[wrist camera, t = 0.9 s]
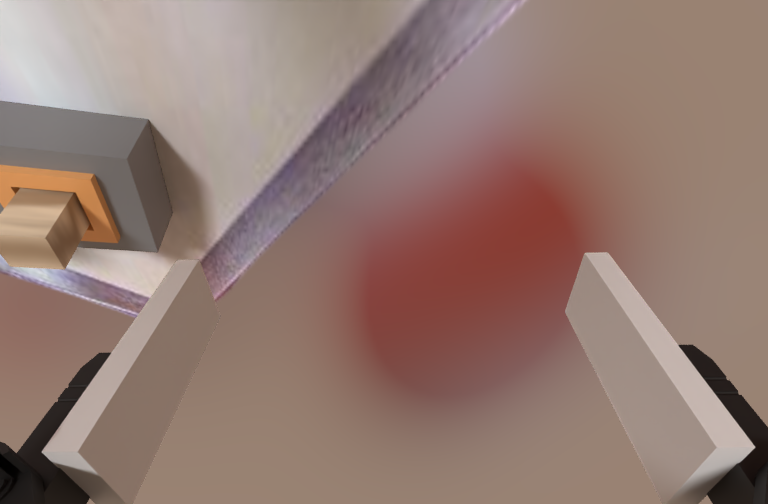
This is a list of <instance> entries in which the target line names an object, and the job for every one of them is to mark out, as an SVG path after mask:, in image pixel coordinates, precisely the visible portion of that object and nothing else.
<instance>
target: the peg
mask: <svg viewBox="0 0 768 504" xmlns="http://www.w3.org/2000/svg"><path fill="white" fill-rule="evenodd" d="M89 225H90V221H89V219H88V217H87V215H86V213H85V211H84V209H83V207H82V205H81V202H80V200H79V198H78V196H77V194H76V192H65V191H53V190H42V189H31V188H20V189H19V190H18V192H17V193H16V194H15V196H14V197H13V198H12V199H11V201H10V202H9V203H8V205H7V206H6V207H5V208H4V210H3V211H2V212H1V214H0V254H1V255H2V257H3V258H4V259H5V260H6V262H7V263H8V264H9V266H11V267H29V268H48V269H65V268H66V266H67V265H68V263H69V261H70V259H71V257H72V256H73V254H74V252H75V250H76V248H77V247H78V245H79V243H80V241H81V239H82V238H83V236H84V234H85V232H86V230H87V228H88V227H89Z"/></svg>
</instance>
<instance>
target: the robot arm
mask: <svg viewBox="0 0 768 504" xmlns="http://www.w3.org/2000/svg"><path fill="white" fill-rule="evenodd" d="M565 313H566V315H567V317H568V319H569V320H570V323H571V325H572V327H573V328H574V331H575V332H576V335H577V337H578V338H579V340H580V342H581V344H582V346H583V348H584V350H585V352H586V354H587V356H588V358H589V360H590V362H591V364H592V366H593V368H594V370H595V372H596V374H597V376H598V378H599V380H600V382H601V384H602V385H603V387H604V390H605V392H606V394H607V395H608V398H609V400H610V401H611V403H612V405H613V407H614V409H615V411H616V413H617V415H618V417H619V419H620V421H621V423H622V425H623V427H624V429H625V431H626V433H627V435H628V437H629V439H630V441H631V443H632V445H633V447H634V449H635V451H636V453H637V455H638V456H639V459H640V461H641V462H642V464H643V467H644V468H645V470H646V472H647V474H648V476H649V478H650V480H651V482H652V484H653V486H654V488H655V490H656V492H657V494H658V496H659V498H660V500H661V502H662V504H698V503H699V502H700V501H701V500H702V499H703V498H704V497H706V495H708V497H709V498H710V500H711V501H712V503H713V504H768V427H767V426H766V425H765V423H764V422H763V421H762V420H761V419H760V417H759V416H758V415H757V414H756V412H755V411H754V410H753V409H752V408H751V406H750V405H749V404H748V403H747V402H746V401H745V399H744V398H743V397H742V395H739V394H738V390H737V389H736V388H735V387H734V385H733V384H732V383H731V382H730V381H728V380H727V379H726V376H725V375H724V373H723V372H722V371H721V370H720V368H719V367H718V366H717V365H716V363H715V362H714V361H713V360H712V359H711V358H709V357H708V356H707V355H705V354H704V353H703V352H702V351H700V350H699V349H698V348H696V347H695V346H693V345H678V344H676V342H675V341H674V339H673V338H672V337H671V335H670V334H669V333H668V331H667V330H666V329H665V327H664V326H663V325H662V323H661V322H660V321H659V320H658V318H657V317H656V315H655V314H654V313H653V312H652V310H651V309H650V308H649V306H648V305H647V304H646V302H645V301H644V300H643V298H642V297H641V296H640V294H639V293H638V292H637V291H636V289H635V288H634V287H633V285H632V284H631V283H630V281H629V280H628V279H627V277H626V276H625V275H624V273H623V272H622V271H621V270H620V268H619V267H618V265H617V264H616V263H615V261H614V260H613V259H612V257H611V256H610V255H609V254H608V253H585V254H584V257H583V260H582V263H581V266H580V269H579V272H578V275H577V277H576V281H575V283H574V286H573V290H572V292H571V295H570V298H569V301H568V304H567V307H566V310H565ZM219 319H220V314H219V311H218V308H217V305H216V303H215V300H214V297H213V295H212V292H211V289H210V287H209V284H208V282H207V279H206V276H205V274H204V271H203V268H202V266H201V263H200V260H199V259H197V260H177V261H176V262H175V264H174V265H173V266H172V268H171V269H170V271H169V272H168V273H167V275H166V276H165V278H164V279H163V281H162V282H161V283H160V285H159V286H158V288H157V289H156V291H155V292H154V293H153V295H152V296H151V298H150V299H149V300H148V302H147V303H146V305H145V306H144V308H143V309H142V310H141V312H140V313H139V315H138V316H137V317H136V319H135V320H134V322H133V323H132V325H131V326H130V327H129V329H128V330H127V332H126V333H125V335H124V336H123V338H122V339H121V340H120V342H119V343H118V345H117V346H116V347H115V349H114V350H113V352H112V353H99V354H97V355H96V356H95V357H94V358H93V359H91V360H90V361H89V362H88V363H86V364H85V365H84V366H83V367H82V368H81V369H80V370H79V372H78V373H77V374H76V375H75V377H74V378H73V379H72V381H71V382H70V383H69V387H68V388H66V389H65V390H64V391H63V393H62V394H61V395H60V397H59V398H58V402H55V403H54V405H53V406H52V407H51V409H50V410H49V411H48V413H47V414H46V415H45V416H44V418H43V419H42V421H41V422H40V423H39V424H38V426H37V427H36V429H35V430H34V431H33V433H32V434H31V435H30V436H29V438H28V439H27V440H26V442H25V443H24V444H23V446H22V447H21V449H20V450H19V451H18V452H17V454H16V453H15V452H14V451H13V450H12V449H11V448H10V447H9V446H7V445H6V444H5V443H2V442H0V504H86V503H87V502H88V500H89V498H90V499H91V500H92V501H93V502H94V503H95V504H133V502H134V500H135V498H136V496H137V493H138V491H139V489H140V487H141V485H142V483H143V481H144V479H145V477H146V474H147V472H148V470H149V468H150V466H151V464H152V462H153V459H154V457H155V455H156V453H157V451H158V449H159V447H160V444H161V442H162V440H163V438H164V436H165V434H166V432H167V430H168V427H169V425H170V423H171V421H172V419H173V417H174V415H175V413H176V411H177V408H178V406H179V404H180V402H181V400H182V398H183V395H184V394H185V391H186V389H187V387H188V385H189V383H190V381H191V379H192V376H193V374H194V372H195V370H196V368H197V366H198V364H199V362H200V360H201V357H202V355H203V353H204V351H205V349H206V347H207V345H208V342H209V340H210V338H211V336H212V334H213V332H214V330H215V328H216V325H217V323H218V321H219Z"/></svg>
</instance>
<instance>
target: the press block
mask: <svg viewBox="0 0 768 504" xmlns="http://www.w3.org/2000/svg"><path fill="white" fill-rule="evenodd" d="M20 188H31V189H42V190H53V191H65V192H76V194H77V196H78V198H79V200H80V202H81V205H82V207H83V209H84V211H85V213H86V215H87V217H88V219H89V221H90V225H89V227H88V228H87V230H86V232H85V234H84V236H83V238H82V239H81V241H80V243H79V245H78V247H82V248H98V249H113V250H129V251H145V252H158V250H159V248H160V245H161V242H162V240H163V237H164V234H165V232H166V229H167V226H168V224H169V221H170V218H171V216H172V213H173V212H172V208H171V205H170V201H169V197H168V193H167V189H166V185H165V182H164V178H163V174H162V170H161V166H160V162H159V159H158V155H157V151H156V147H155V143H154V139H153V136H152V132H151V128H150V124H149V120H147V119H139V118H131V117H123V116H115V115H107V114H99V113H91V112H84V111H76V110H68V109H60V108H52V107H44V106H36V105H28V104H20V103H12V102H5V101H0V214H1V212H2V211H3V210H4V208H5V207H6V206H7V205H8V203H9V202H10V201H11V199H12V198H13V197H14V196H15V194H16V193H17V192H18V190H19V189H20Z"/></svg>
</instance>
